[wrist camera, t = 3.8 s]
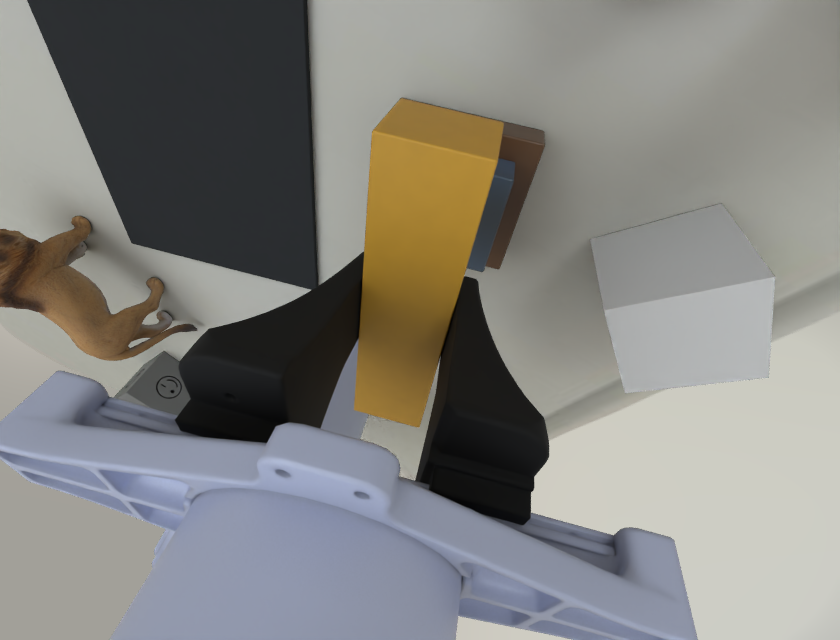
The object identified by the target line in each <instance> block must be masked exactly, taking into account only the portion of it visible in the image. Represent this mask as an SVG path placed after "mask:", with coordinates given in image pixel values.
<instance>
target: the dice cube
mask: <svg viewBox="0 0 840 640" xmlns="http://www.w3.org/2000/svg"><path fill="white" fill-rule="evenodd" d="M178 367H179V362H178V361H177V360H175V359H174V358H172V357H171V356H170V355H168V354H167V353H165V352H164V351H163V352H162V353H161V354H159V355H158V356H156V357H155V358H153V359H152V360H150V361H149V362H148V363H146V364H145V365H143V366H142V367H141V368H140V370H139V371H138V372H137V373H136V374H135V375H134V376H133V377H132V378H131V379H130V380H129V381H128V382H127V384H126V385H125V386H124V387H123V388H122V389H121V390H120V391H119V392H118V393H117V394H116V395H115V397H114V398H116V399H119V400H123V401H127V402H130V403H134V404H138V405H141V406H145V407H148V408H152V409H156V410H159V411H163V412H167V413H170V414H174V415H179V414H180V412H181V411H182V410H183V408H184V407H185V406H186V404H187V403H188V402H189V400H190V399H191V398H190V396H189V394H188V391H187V389H186V387H185V385H184V383H183V380H182V378H181V376H180V372H179V368H178Z"/></svg>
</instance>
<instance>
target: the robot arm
mask: <svg viewBox="0 0 840 640" xmlns="http://www.w3.org/2000/svg"><path fill="white" fill-rule="evenodd" d="M363 263H364V252H362V253H361V254H360V255H359V256H358V257H356V258H355V259H354V260H353V261H352V262H350V263H349V264H348V265H347V266H345V267H344V268H343V269H342V270H340V271H339V272H338V273H336V274H335V275H334V276H332V277H331V278H329V279H328V280H327V281H325V282H324V283H322V284H321V285H319V286H318V287H316V288H314V289H313V290H311V291H310V292H308V293H306V294H305V295H303V296H301V297H299V298H297V299H295V300H294V301H292V302H290V303H287V304H285V305H283V306H280V307H278V308H276V309H273V310H271V311H269V312H266V313H263V314H261V315H258V316H255V317H252V318H249V319H246V320H242V321H239V322H235V323H231V324H227V325H223V326H219V327H215V328H211V329H208V330H207V331H206V332H205V333H204V334H203V335H202V336H201V337H200V338H199V339H198V340H197V342H196V343H195V344H194V345H193V346H192V347H191V349H190V350H189V351H188V352H187V353H186V355H185V356H184V357H183V358H182V359H181V361H180V362H179V367H178V368H179V372H180V376H181V378H182V380H183V383H184V385H185V387H186V389H187V391H188V394H189V396H190V398H191V399H190V400H189V402H188V403H187V404H186V406H185V407H184V408H183V410H182V411H181V412H180V414H179V415H174V414H170V413H167V412H163V411H159V410H156V409H152V408H148V407H145V406H141V405H138V404H134V403H130V402H127V401H123V400H119V399H116V398H112V397H109V396H108V393H107V391H106V389H105V388H104V387H103V386H102V385H101V384H100V383H98V382H97V381H95V380H93V379H90V378H87V377H83V376H79V375H75V374H72V373H68V372H65V371H57V372H55V373H54V374H53V375H52V376H51V377H50V378H49V379H48V380H46V381H45V382H44V383H43V384H42V385H41V386H40V387H39V388H38V389H36V390H35V391H34V392H33V393H32V394H31V395H30V396H28V397H27V398H26V399H25V400H24V401H23V402H22V403H21V404H20V405H18V406H17V407H16V408H15V409H14V410H13V411H12V412H11V413H10V414H8V415H7V416H6V417H5V418H4V419H3V420H2V421H1V422H0V459H1V460H2V461H3V462H5V463H6V464H7V465H9V466H10V467H11V468H13V469H14V470H15V471H16V472H18V473H19V474H20V475H21V476H23V477H24V478H25V479H27V480H28V481H29V482H32V483H35V484H39V485H42V486H45V487H48V488H52V489H55V490H58V491H62V492H64V493H68V494H71V495H74V496H77V497H80V498H83V499H86V500H88V501H91V502H94V503H97V504H100V505H102V506H105V507H108V508H111V509H114V510H116V511H119V512H122V513H124V514H127V515H130V516H133V517H135V518H138V519H140V520H143V521H146V522H148V523H151V524H154V525H156V526H159V527H162V528H165V529H166V530H165V531H164V533H163V535H162V537H161V538H160V540H159V542H158V544H157V546H156V547H155V549H154V554H155V558H154V560H153V562H152V568H153V569H152V571H151V572H150V574H149V576H148V578H147V579H146V580H145V582H144V584H143V585H142V587H141V589H140V590H139V592H138V594H137V595H136V597H135V598H134V600H133V602H132V604H131V605H130V607H129V608H128V610H127V612H126V613H125V615H124V617H123V618H122V620H121V622H120V623H119V625H118V626H117V628H116V630H115V631H114V633H113V635H112V636H111V638H110V639H109V640H456V630H457V621H458V616H461V617H466V618H471V619H476V620H480V621H485V622H491V623H495V624H500V625H505V626H510V627H515V628H520V629H525V630H530V631H534V632H539V633H544V634H549V635H554V636H559V637H564V638H568V639H573V640H698V639H697V634H696V630H695V626H694V622H693V618H692V613H691V609H690V605H689V601H688V597H687V592H686V589H685V584H684V580H683V575H682V571H681V567H680V563H679V559H678V554H677V550H676V546H675V542H674V540H673V539H672V538H670V537H668V536H664V535H660V534H656V533H653V532H649V531H645V530H642V529H638V528H630V527H629V528H623V529H621V530H619V531H618V532H617V533H616V534H615V535H610V534H607V533H603V532H599V531H596V530H592V529H588V528H584V527H581V526H578V525H574V524H570V523H567V522H563V521H559V520H556V519H552V518H548V517H545V516H541V515H538V514H534V513H531V492H532V491H533V490H534V476H535V475H536V474H537V473H538V471H539V470H540V469H541V468H542V467H543V465H544V464H545V463H546V461H547V460H548V458H549V440H548V434H547V429H546V424H545V420H544V417H543V416H542V415H541V414H540V413H539V412H538V410H537V409H536V408H535V407H534V406H533V405H532V403H531V402H530V401H529V400H528V399H527V398H526V396H525V395H524V394H523V392H522V391H521V389H520V388H519V387H518V385H517V383H516V382H515V380H514V379H513V377H512V376H511V374H510V372H509V371H508V369H507V368H506V366H505V364H504V362H503V360H502V358H501V356H500V354H499V352H498V350H497V348H496V346H495V343H494V341H493V339H492V336H491V333H490V331H489V328H488V325H487V322H486V318H485V315H484V312H483V308H482V304H481V299H480V294H479V286H478V281H477V280H476V279H474V278H470V277H466V276H464V278H463V281H462V285H461V288H460V292H459V295H458V298H457V302H456V305H455V309H454V312H453V315H452V319H451V322H450V325H449V329H448V332H447V336H446V339H445V342H444V346H443V349H442V352H441V358H440V366H439V374H438V382H437V389H436V394H435V399H434V404H433V408H432V412H431V417H430V421H429V425H428V430H427V434H426V438H425V443H424V447H423V451H422V455H421V459H420V464H419V468H418V472H417V476H416V480H415V481H414V480H410V479H407V478H403V477H399V472H400V464H399V461H398V459H397V457H396V456H395V455H393V454H392V453H391V452H390V451H389V450H388V449H386V448H384V447H381V446H379V445H376V444H374V443H371V442H367V441H364V440H360V438H361V435H362V432H363V429H364V426H365V423H366V421H367V418H368V415H369V414H366V413H363V412H359V411H355V410H354V400H355V385H356V370H357V354H358V339H359V324H360V309H361V293H362V278H363Z"/></svg>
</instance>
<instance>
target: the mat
mask: <svg viewBox="0 0 840 640" xmlns="http://www.w3.org/2000/svg"><path fill="white" fill-rule="evenodd" d="M27 1H28V3H29V6H30V8H31V10H32V13H33V15H34V17H35V20H36V22H37V24H38V26H39V29H40V31H41V33H42V36H43V38H44V40H45V43H46V45H47V47H48V50H49V52H50V54H51V57H52V59H53V61H54V64H55V66H56V68H57V71H58V73H59V75H60V78H61V80H62V82H63V85H64V87H65V89H66V92H67V94H68V96H69V99H70V101H71V103H72V106H73V108H74V110H75V113H76V115H77V117H78V119H79V122H80V124H81V126H82V129H83V131H84V133H85V136H86V138H87V140H88V143H89V145H90V147H91V150H92V152H93V154H94V157H95V159H96V161H97V164H98V166H99V168H100V171H101V173H102V175H103V178H104V180H105V182H106V185H107V187H108V189H109V192H110V194H111V196H112V199H113V201H114V203H115V206H116V208H117V210H118V213H119V215H120V217H121V219H122V222H123V224H124V226H125V229H126V231H127V233H128V236H129V238H130V240H131V243H133V244H137V245H140V246H144V247H148V248H152V249H156V250H160V251H164V252H168V253H172V254H175V255H179V256H183V257H187V258H191V259H195V260H199V261H203V262H206V263H210V264H214V265H218V266H222V267H226V268H230V269H234V270H238V271H241V272H245V273H249V274H253V275H257V276H261V277H265V278H269V279H272V280H276V281H280V282H284V283H288V284H292V285H296V286H300V287H303V288H307V289H311V290H313V289H314V288H316V287H318V273H317V247H316V222H315V196H314V171H313V145H312V120H311V94H310V69H309V43H308V18H307V0H27Z"/></svg>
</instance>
